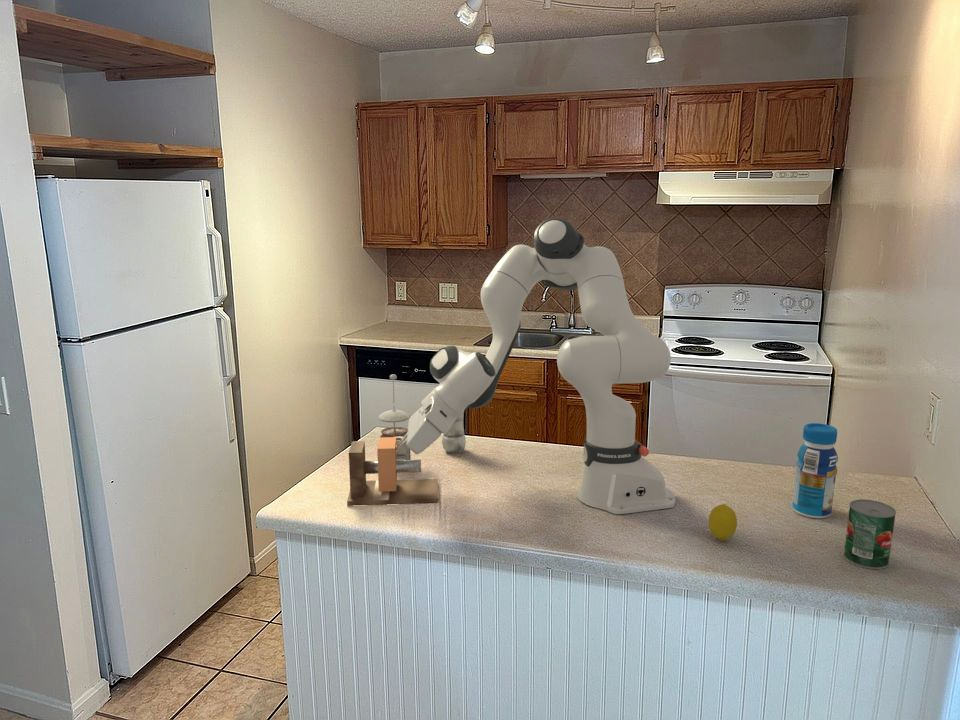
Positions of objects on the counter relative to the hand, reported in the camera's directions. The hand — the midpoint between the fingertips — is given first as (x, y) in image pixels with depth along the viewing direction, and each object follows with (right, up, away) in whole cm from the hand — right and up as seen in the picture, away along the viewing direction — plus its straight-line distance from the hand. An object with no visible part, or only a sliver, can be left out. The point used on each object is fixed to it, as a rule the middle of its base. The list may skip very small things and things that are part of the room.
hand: (398, 450), depth 169 cm
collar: (-3, -8, +1) cm, 9 cm away
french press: (-2, -7, +20) cm, 22 cm away
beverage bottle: (+94, -13, -7) cm, 95 cm away
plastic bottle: (+12, -4, +31) cm, 34 cm away
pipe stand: (-1, -11, +2) cm, 11 cm away
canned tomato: (+95, -18, -29) cm, 101 cm away
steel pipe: (-2, -5, +1) cm, 6 cm away
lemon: (+69, -16, -21) cm, 74 cm away
